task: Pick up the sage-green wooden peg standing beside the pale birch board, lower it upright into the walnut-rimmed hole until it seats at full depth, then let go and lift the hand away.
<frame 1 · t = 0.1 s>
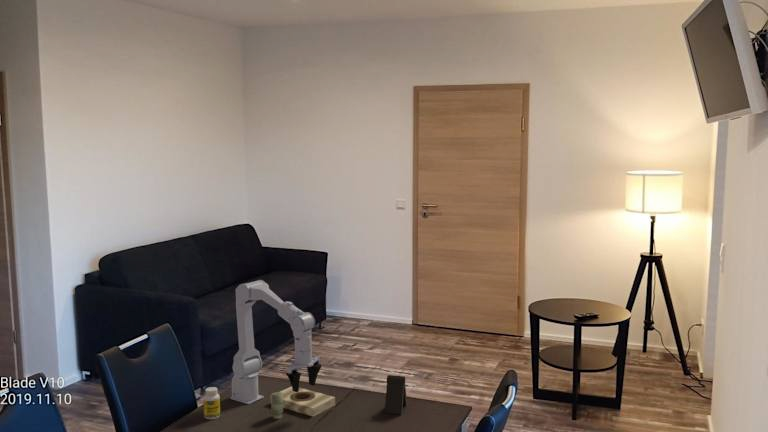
hand: (303, 388, 228), 10 cm above the table, tool pointing down, fingers open, 7 cm apart
green peg: (277, 417, 228), on the table
supplement bottle: (212, 417, 229), on the table
socket board: (302, 404, 239), on the table
phone stand: (396, 409, 234), on the table
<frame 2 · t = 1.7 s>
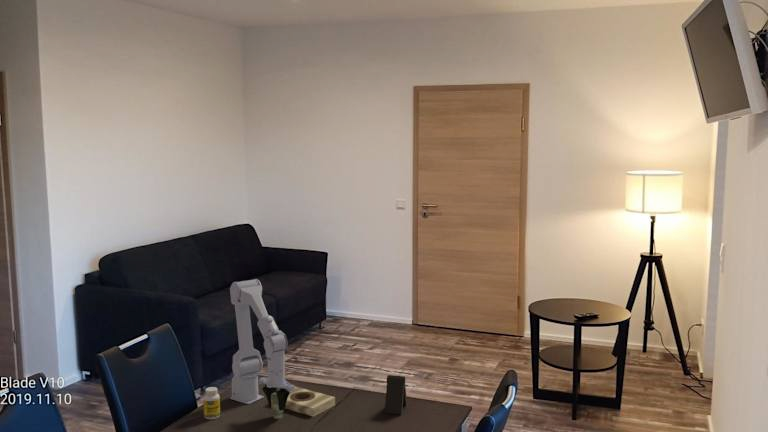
hand: (277, 408, 228), 3 cm above the table, tool pointing down, fingers closed on green peg, 4 cm apart
green peg: (277, 417, 228), on the table, touching gripper
everything else where it was.
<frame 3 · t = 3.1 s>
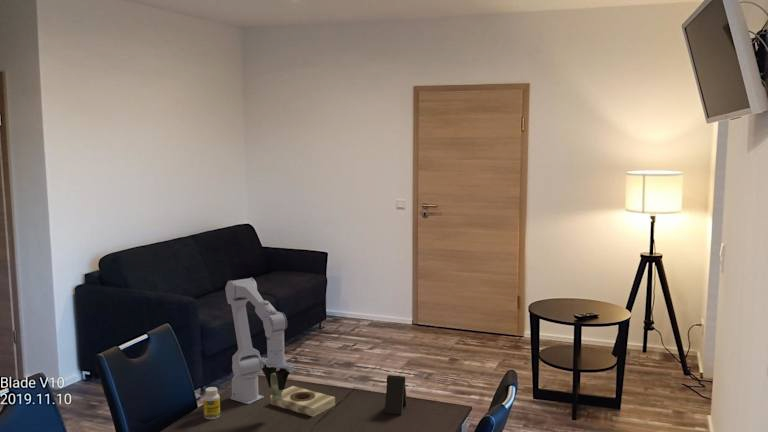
hand: (276, 388, 227), 10 cm above the table, tool pointing down, fingers closed on green peg, 4 cm apart
green peg: (276, 397, 227), point 7 cm above the table, touching gripper
everything else where it was.
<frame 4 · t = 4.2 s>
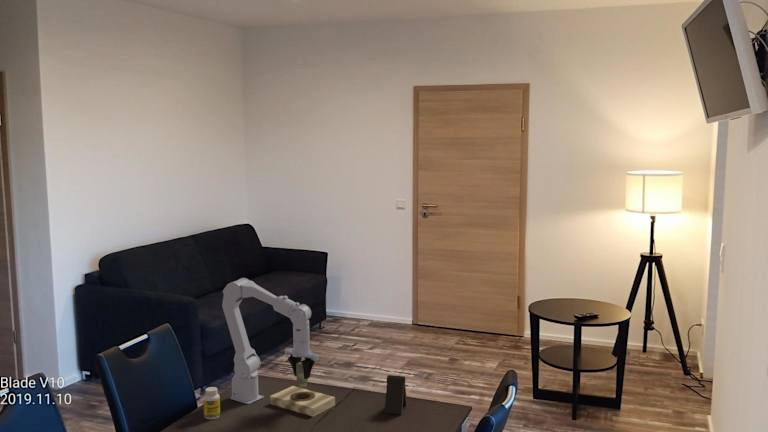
hand: (302, 377, 238), 10 cm above the table, tool pointing down, fingers closed on green peg, 4 cm apart
green peg: (302, 385, 238), point 7 cm above the table, touching gripper
everything else where it was.
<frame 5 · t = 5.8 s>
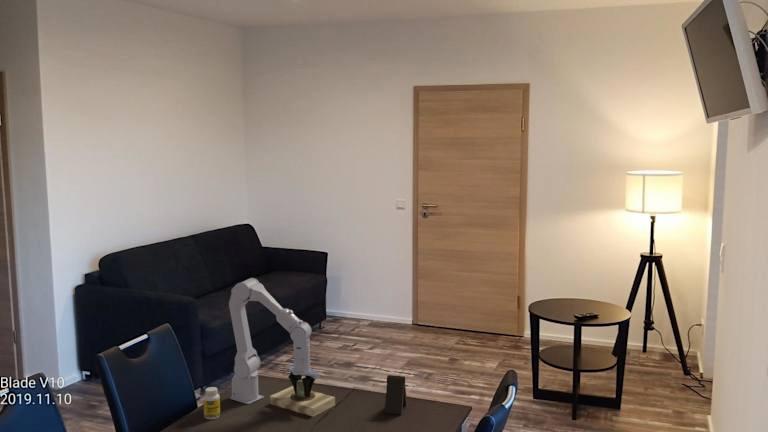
hand: (302, 394, 238), 4 cm above the table, tool pointing down, fingers closed on green peg, 4 cm apart
green peg: (302, 403, 239), resting in socket board, touching gripper
everything else where it was.
when the fingers open (4 cm above the table, at t = 6.8 s): green peg stays where it is, resting in socket board.
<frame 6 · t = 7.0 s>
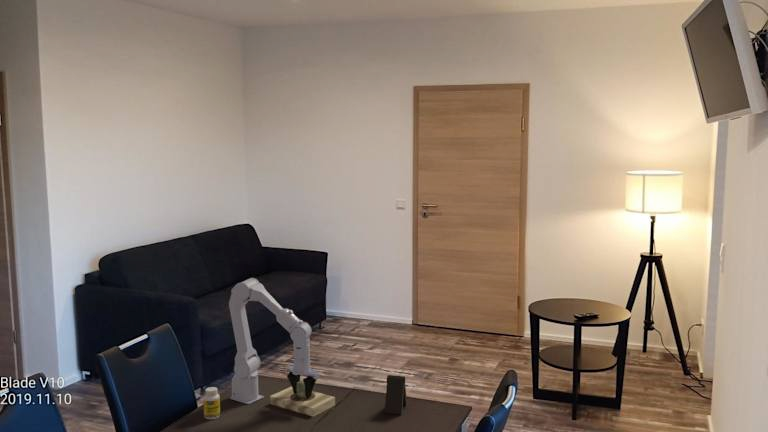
hand: (302, 394, 238), 4 cm above the table, tool pointing down, fingers open, 5 cm apart
green peg: (302, 404, 239), resting in socket board
everything else where it was.
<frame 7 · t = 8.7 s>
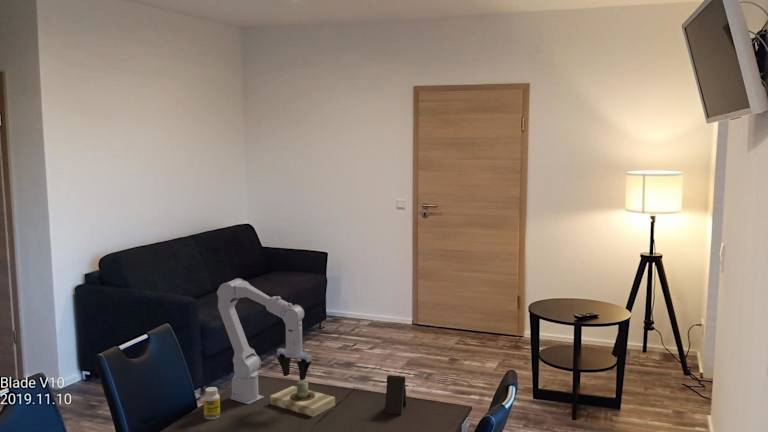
hand: (294, 377, 238), 10 cm above the table, tool pointing down, fingers open, 7 cm apart
nothing on the table moved.
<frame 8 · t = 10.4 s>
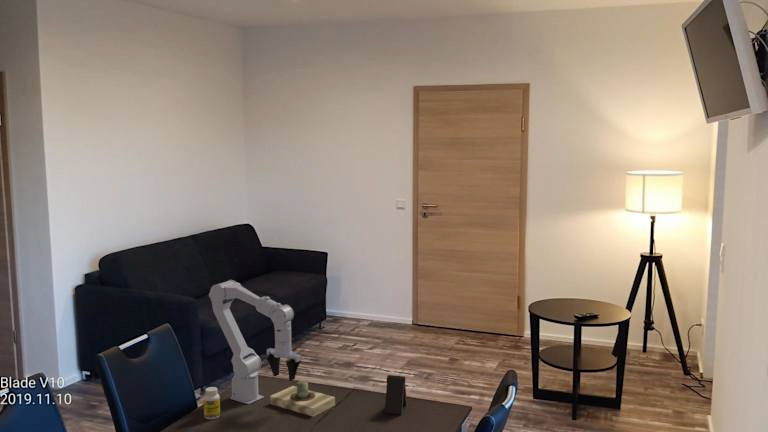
hand: (284, 377, 237), 10 cm above the table, tool pointing down, fingers open, 7 cm apart
nothing on the table moved.
at the end: green peg 0.0 cm off-centre on the socket board, point 0.0 cm above the socket board's base; green peg tilted 0°; the gripper is holding nothing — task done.
